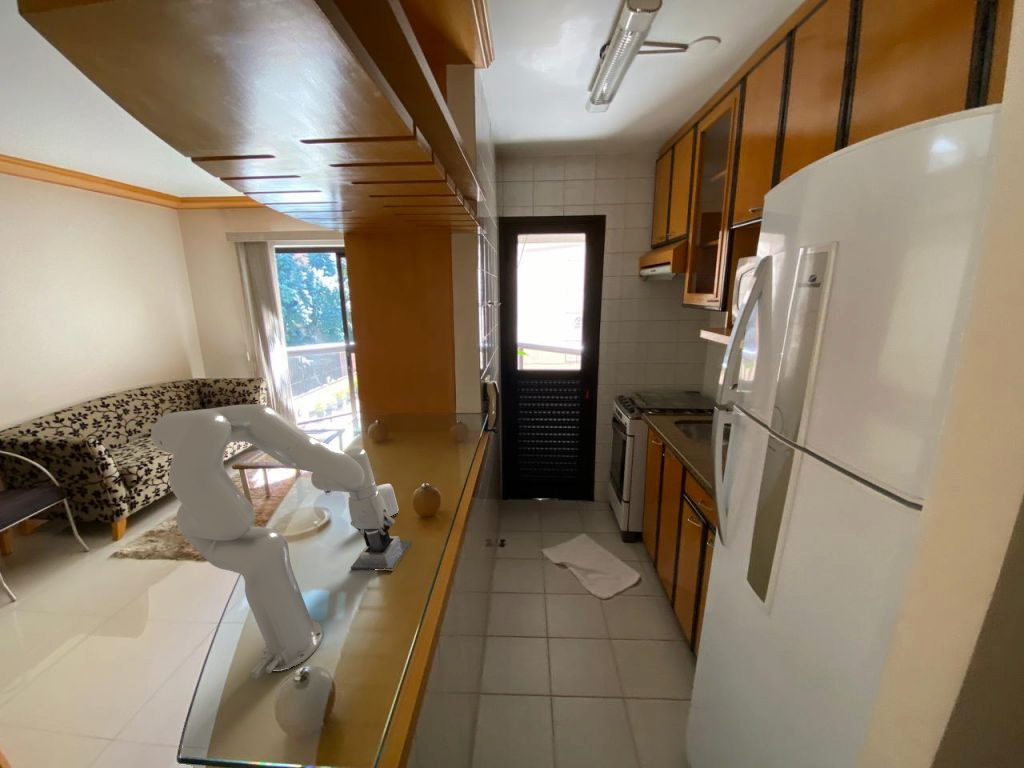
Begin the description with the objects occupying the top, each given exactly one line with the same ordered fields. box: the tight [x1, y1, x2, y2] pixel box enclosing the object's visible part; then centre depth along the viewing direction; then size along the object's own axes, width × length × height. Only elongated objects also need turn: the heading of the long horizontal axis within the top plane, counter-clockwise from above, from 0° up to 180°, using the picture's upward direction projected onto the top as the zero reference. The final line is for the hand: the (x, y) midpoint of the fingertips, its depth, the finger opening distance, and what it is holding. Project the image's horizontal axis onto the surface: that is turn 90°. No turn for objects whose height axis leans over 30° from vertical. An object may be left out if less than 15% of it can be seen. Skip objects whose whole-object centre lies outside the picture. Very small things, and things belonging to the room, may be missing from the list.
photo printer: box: [376, 483, 400, 517], centre depth 141 cm, size 10×4×12 cm, turn 123°
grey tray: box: [350, 535, 413, 571], centre depth 120 cm, size 12×14×4 cm
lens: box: [365, 527, 389, 553], centre depth 119 cm, size 5×5×9 cm
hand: (378, 543), depth 120 cm, fingers closed on lens, 4 cm apart
